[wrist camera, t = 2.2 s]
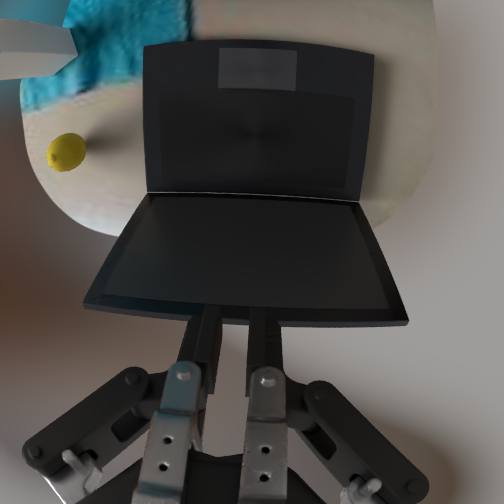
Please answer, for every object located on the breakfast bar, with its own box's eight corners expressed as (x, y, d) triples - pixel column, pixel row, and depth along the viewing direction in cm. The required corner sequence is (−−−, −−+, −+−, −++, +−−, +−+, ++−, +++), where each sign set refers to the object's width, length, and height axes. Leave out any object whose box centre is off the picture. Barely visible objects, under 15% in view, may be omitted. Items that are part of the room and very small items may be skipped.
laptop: (148, 48, 32) (143, 46, 30) (370, 56, 31) (374, 54, 30) (151, 188, 42) (146, 192, 40) (355, 197, 42) (359, 201, 40)
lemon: (101, 144, 39) (72, 156, 32) (82, 170, 41) (54, 186, 34) (79, 122, 37) (48, 130, 30) (62, 148, 39) (32, 160, 32)
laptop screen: (81, 302, 24) (84, 309, 25) (410, 320, 24) (406, 326, 24) (147, 191, 40) (147, 197, 41) (359, 201, 40) (357, 206, 41)
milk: (79, 55, 31) (-30, 54, 12) (52, 76, 33) (-55, 91, 13) (69, 27, 29) (-35, 15, 9) (43, 49, 30) (-60, 53, 11)
